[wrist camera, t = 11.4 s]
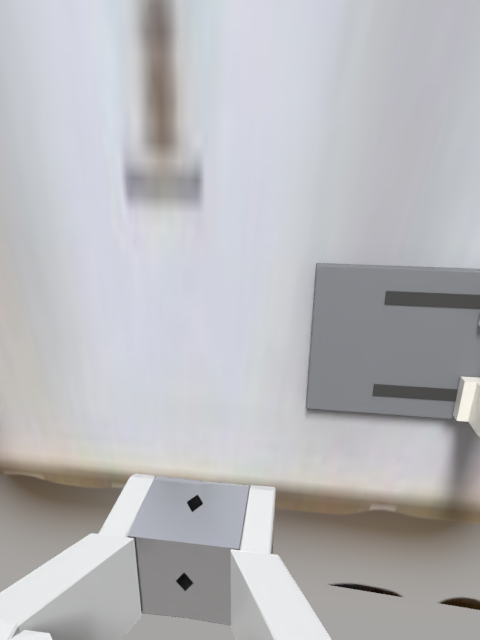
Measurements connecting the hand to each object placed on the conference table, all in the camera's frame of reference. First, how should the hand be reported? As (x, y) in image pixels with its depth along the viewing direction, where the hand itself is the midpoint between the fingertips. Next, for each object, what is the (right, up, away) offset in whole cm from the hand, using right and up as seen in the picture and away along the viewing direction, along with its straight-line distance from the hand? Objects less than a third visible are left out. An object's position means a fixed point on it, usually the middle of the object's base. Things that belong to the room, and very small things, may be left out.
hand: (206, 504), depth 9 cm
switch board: (+17, +2, +31) cm, 35 cm away
